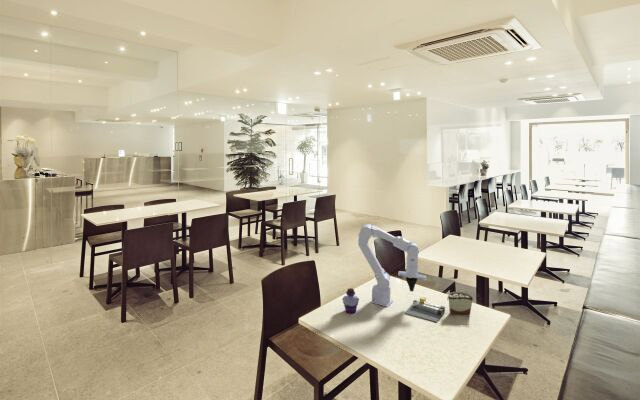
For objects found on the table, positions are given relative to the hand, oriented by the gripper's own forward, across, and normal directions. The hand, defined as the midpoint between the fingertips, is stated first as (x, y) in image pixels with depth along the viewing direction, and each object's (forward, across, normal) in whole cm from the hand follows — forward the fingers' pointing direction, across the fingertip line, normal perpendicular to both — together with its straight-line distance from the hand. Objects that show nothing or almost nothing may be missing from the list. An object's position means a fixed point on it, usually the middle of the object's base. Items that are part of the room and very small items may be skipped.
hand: (411, 290), depth 175 cm
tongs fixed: (+7, +9, 0) cm, 12 cm away
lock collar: (+5, +6, 0) cm, 8 cm away
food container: (+8, +22, +4) cm, 24 cm away
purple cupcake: (+8, -24, -24) cm, 34 cm away
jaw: (+7, +9, -3) cm, 12 cm away
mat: (+8, +8, -5) cm, 12 cm away
